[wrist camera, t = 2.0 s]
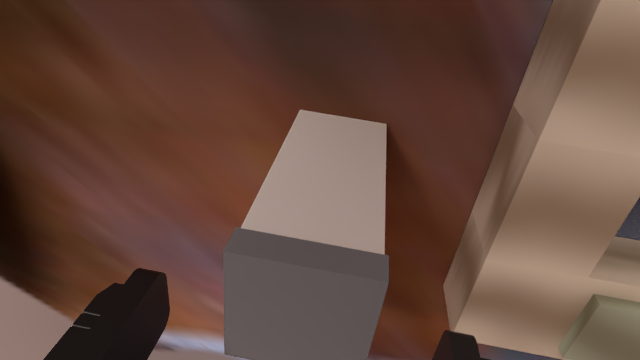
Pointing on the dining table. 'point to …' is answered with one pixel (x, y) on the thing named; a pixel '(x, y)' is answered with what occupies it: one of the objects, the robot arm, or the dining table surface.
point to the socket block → (561, 199)
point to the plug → (312, 247)
